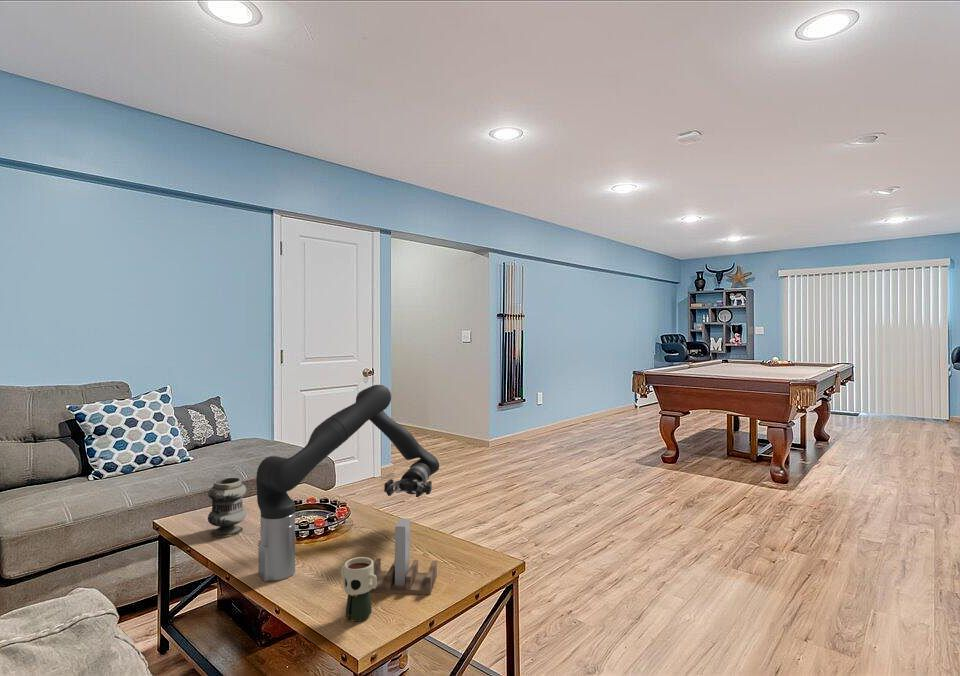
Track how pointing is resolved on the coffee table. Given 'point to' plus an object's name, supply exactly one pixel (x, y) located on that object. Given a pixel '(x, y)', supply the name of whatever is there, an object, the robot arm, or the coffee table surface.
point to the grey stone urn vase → (227, 506)
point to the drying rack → (414, 579)
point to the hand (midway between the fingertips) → (403, 493)
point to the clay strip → (402, 551)
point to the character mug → (358, 586)
